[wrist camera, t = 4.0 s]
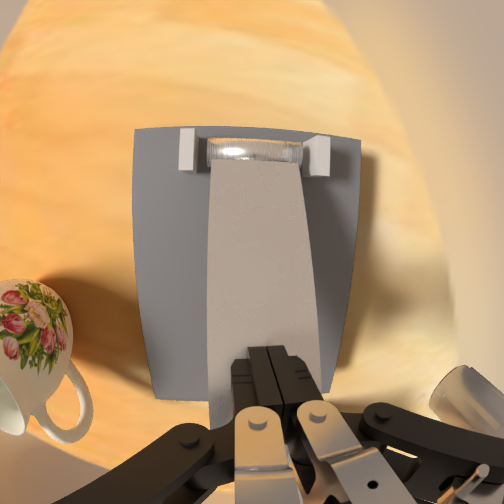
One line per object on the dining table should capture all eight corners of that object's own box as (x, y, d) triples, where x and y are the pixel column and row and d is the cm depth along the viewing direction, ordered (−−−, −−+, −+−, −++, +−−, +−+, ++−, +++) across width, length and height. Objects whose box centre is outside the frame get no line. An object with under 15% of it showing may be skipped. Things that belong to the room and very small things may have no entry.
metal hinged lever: (293, 154, 18) (300, 136, 16) (318, 451, 11) (331, 462, 9) (208, 151, 17) (208, 131, 15) (207, 461, 10) (206, 474, 9)
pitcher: (84, 397, 25) (45, 481, 12) (-9, 281, 21) (-85, 328, 7) (140, 362, 24) (101, 471, 11) (29, 221, 20) (-74, 254, 7)
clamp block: (339, 146, 22) (382, 134, 15) (316, 369, 27) (340, 413, 20) (149, 138, 20) (120, 119, 13) (162, 373, 25) (150, 421, 18)
